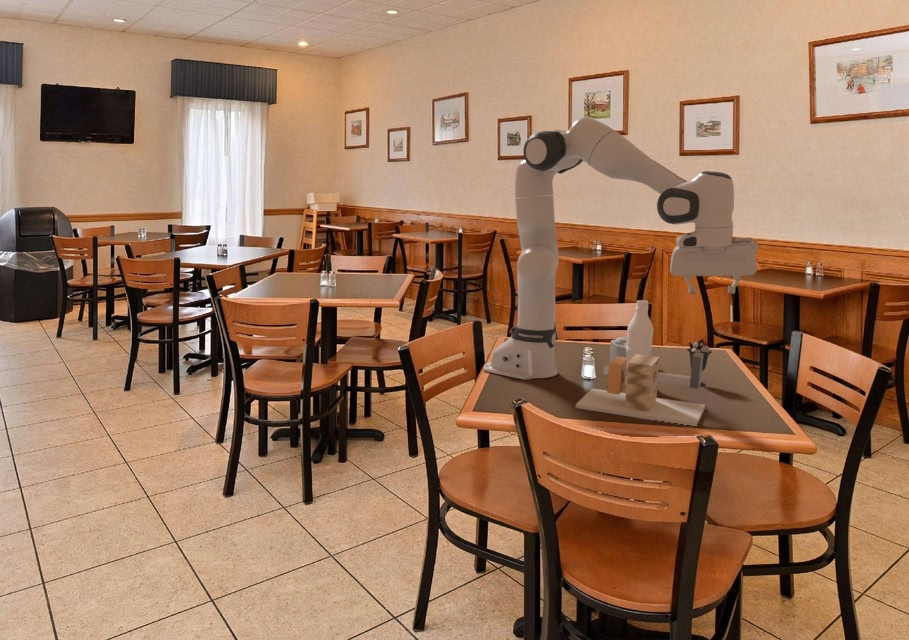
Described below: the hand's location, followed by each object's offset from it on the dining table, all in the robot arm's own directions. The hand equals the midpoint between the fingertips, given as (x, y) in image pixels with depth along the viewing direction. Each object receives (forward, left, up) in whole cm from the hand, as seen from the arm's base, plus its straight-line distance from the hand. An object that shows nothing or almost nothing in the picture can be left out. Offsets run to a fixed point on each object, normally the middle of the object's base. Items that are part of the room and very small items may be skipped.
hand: (711, 293), depth 178 cm
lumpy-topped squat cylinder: (-26, +35, -31) cm, 54 cm away
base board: (-14, -7, -31) cm, 34 cm away
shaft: (-12, -7, -23) cm, 26 cm away
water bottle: (-19, +12, -31) cm, 38 cm away
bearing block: (-14, -7, -30) cm, 33 cm away
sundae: (-4, +24, -31) cm, 40 cm away
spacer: (-21, -7, -27) cm, 34 cm away
